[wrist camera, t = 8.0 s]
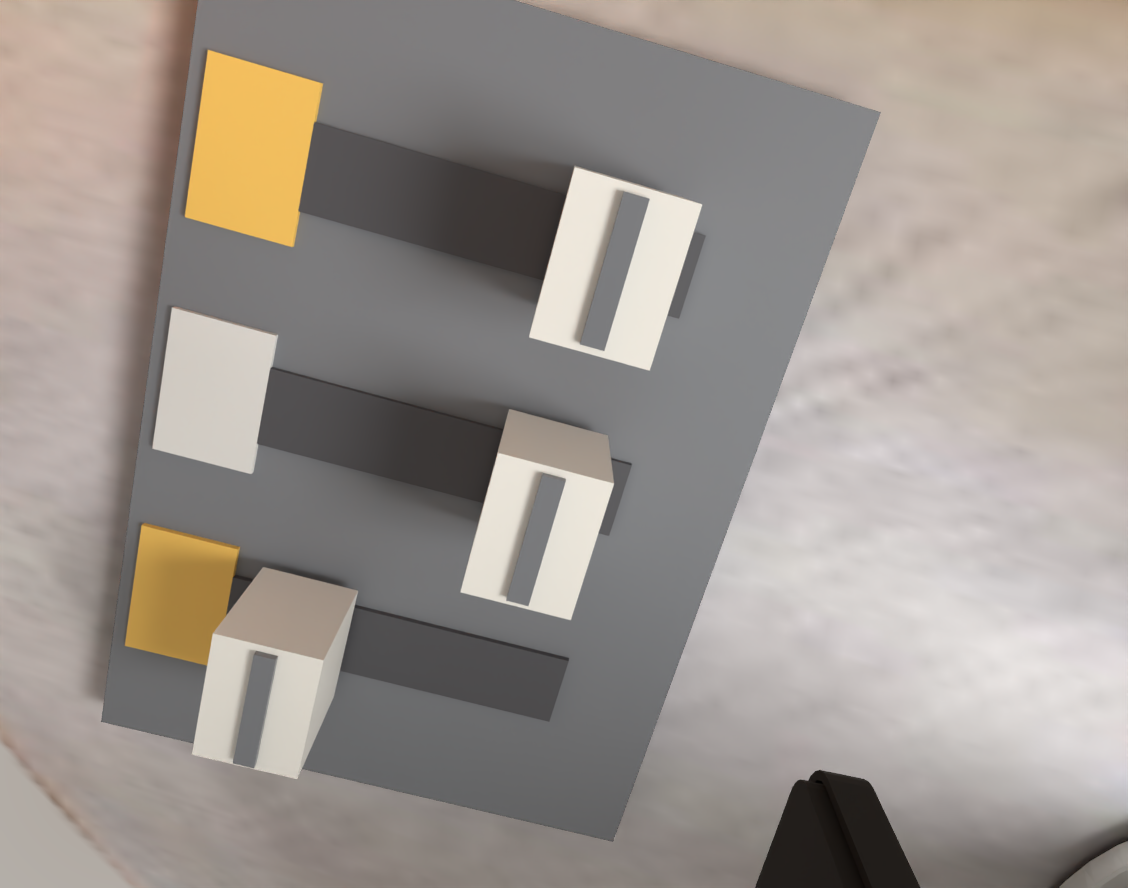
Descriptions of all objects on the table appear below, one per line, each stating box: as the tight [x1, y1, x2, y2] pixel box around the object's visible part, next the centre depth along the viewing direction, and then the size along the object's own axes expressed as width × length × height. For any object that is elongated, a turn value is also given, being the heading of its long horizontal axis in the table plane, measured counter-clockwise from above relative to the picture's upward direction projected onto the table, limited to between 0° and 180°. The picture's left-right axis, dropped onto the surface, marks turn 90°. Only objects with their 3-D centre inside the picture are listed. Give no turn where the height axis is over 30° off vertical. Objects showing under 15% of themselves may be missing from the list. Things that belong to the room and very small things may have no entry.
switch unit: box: [101, 0, 881, 841], centre depth 27 cm, size 25×18×1 cm
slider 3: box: [529, 166, 702, 371], centre depth 22 cm, size 4×3×4 cm
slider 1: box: [192, 567, 358, 779], centre depth 26 cm, size 4×3×4 cm
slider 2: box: [461, 409, 614, 620], centre depth 24 cm, size 4×3×4 cm
